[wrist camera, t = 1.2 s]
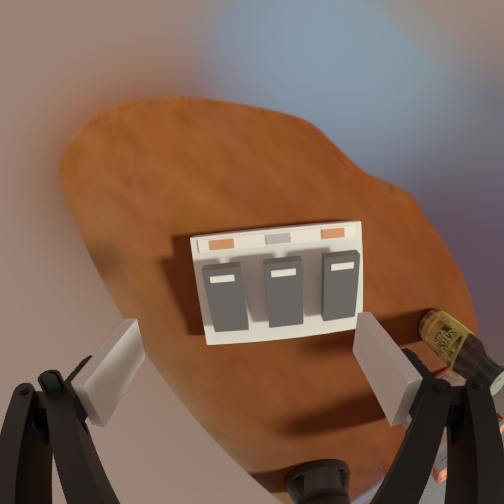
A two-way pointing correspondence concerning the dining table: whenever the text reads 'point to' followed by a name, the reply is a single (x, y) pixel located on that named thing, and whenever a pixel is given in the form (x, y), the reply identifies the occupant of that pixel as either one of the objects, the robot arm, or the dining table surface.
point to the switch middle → (284, 290)
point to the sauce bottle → (460, 348)
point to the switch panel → (251, 258)
